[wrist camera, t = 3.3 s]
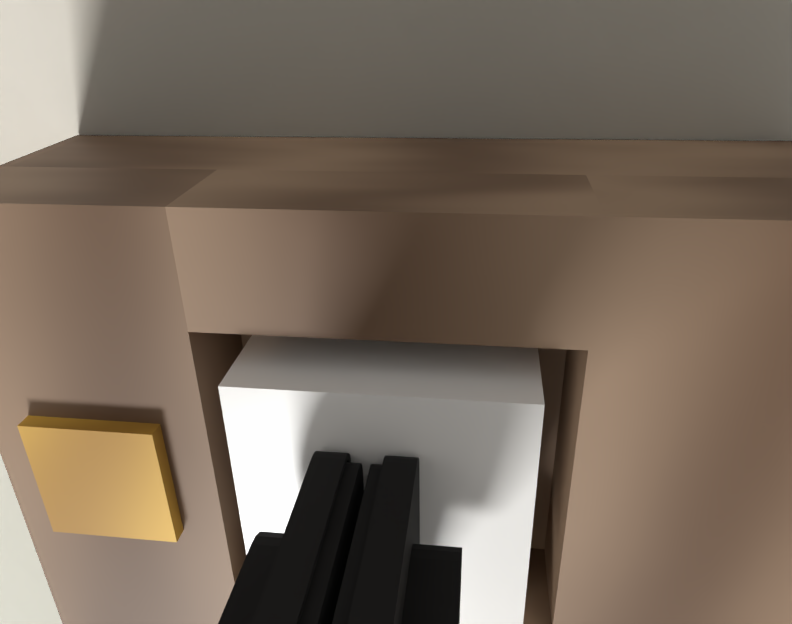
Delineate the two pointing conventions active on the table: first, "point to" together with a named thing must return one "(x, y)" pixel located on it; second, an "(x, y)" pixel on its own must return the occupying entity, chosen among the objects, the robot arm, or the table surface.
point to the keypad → (407, 322)
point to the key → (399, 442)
